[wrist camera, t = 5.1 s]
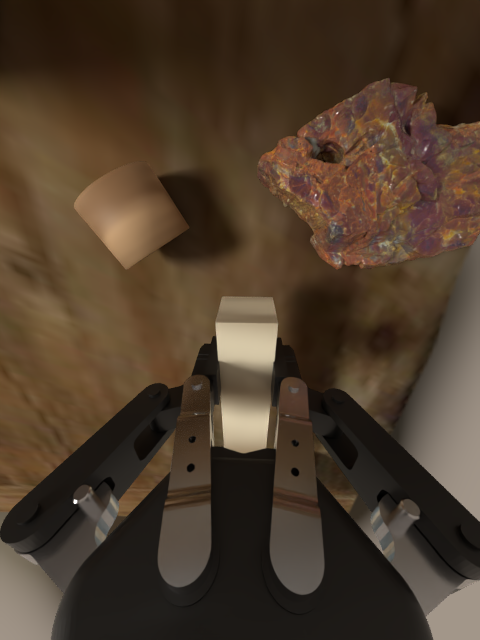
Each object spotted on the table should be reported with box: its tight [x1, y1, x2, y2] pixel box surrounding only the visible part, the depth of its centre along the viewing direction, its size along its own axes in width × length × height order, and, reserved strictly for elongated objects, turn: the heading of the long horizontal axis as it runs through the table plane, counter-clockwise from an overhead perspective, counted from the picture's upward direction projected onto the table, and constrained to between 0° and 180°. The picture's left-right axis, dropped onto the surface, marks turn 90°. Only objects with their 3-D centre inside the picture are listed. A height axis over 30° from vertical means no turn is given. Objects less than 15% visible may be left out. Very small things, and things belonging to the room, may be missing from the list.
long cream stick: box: [216, 297, 278, 453], centre depth 17 cm, size 22×3×3 cm, turn 0°
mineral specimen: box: [257, 78, 480, 269], centre depth 13 cm, size 12×8×7 cm
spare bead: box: [74, 161, 190, 269], centre depth 14 cm, size 4×5×5 cm
